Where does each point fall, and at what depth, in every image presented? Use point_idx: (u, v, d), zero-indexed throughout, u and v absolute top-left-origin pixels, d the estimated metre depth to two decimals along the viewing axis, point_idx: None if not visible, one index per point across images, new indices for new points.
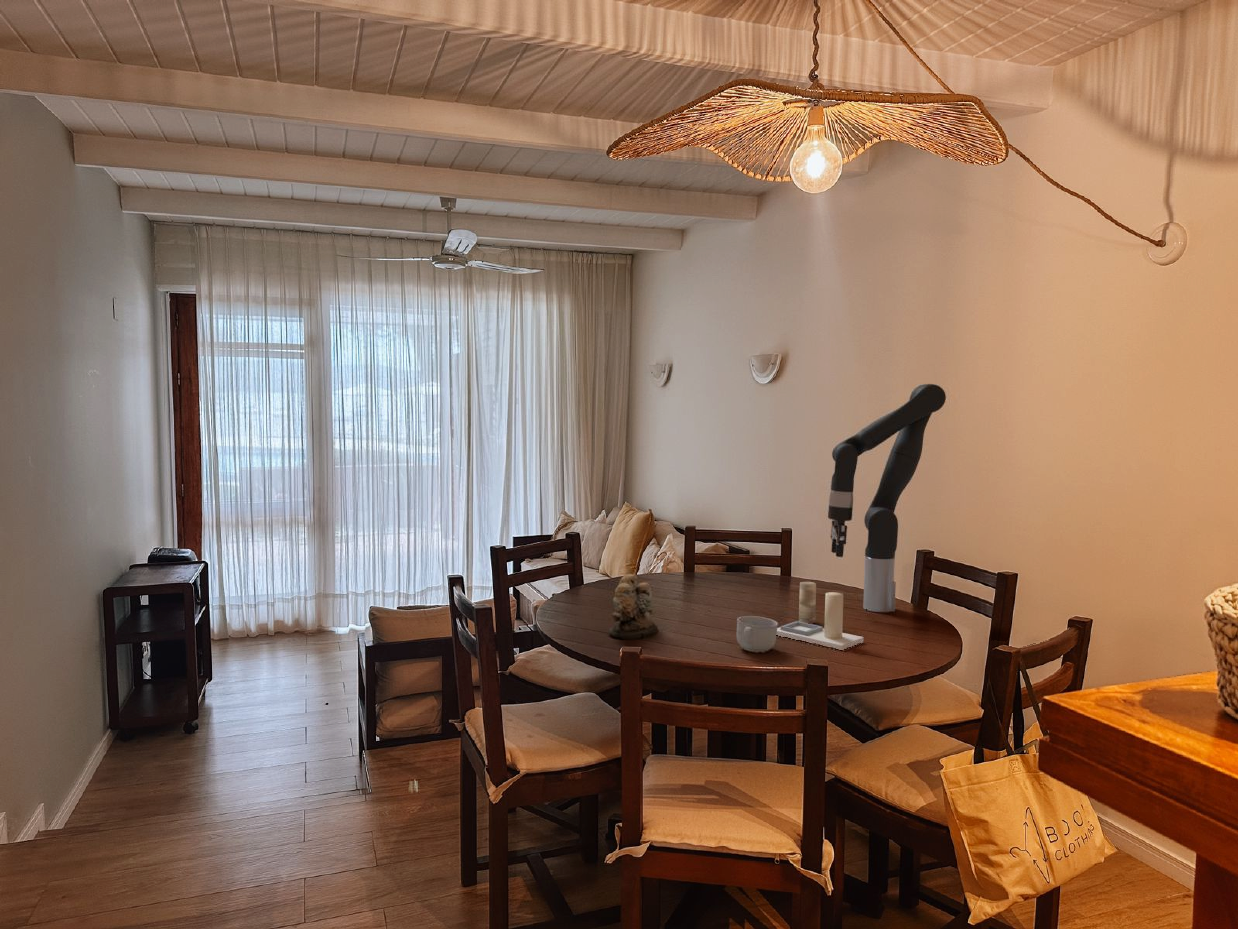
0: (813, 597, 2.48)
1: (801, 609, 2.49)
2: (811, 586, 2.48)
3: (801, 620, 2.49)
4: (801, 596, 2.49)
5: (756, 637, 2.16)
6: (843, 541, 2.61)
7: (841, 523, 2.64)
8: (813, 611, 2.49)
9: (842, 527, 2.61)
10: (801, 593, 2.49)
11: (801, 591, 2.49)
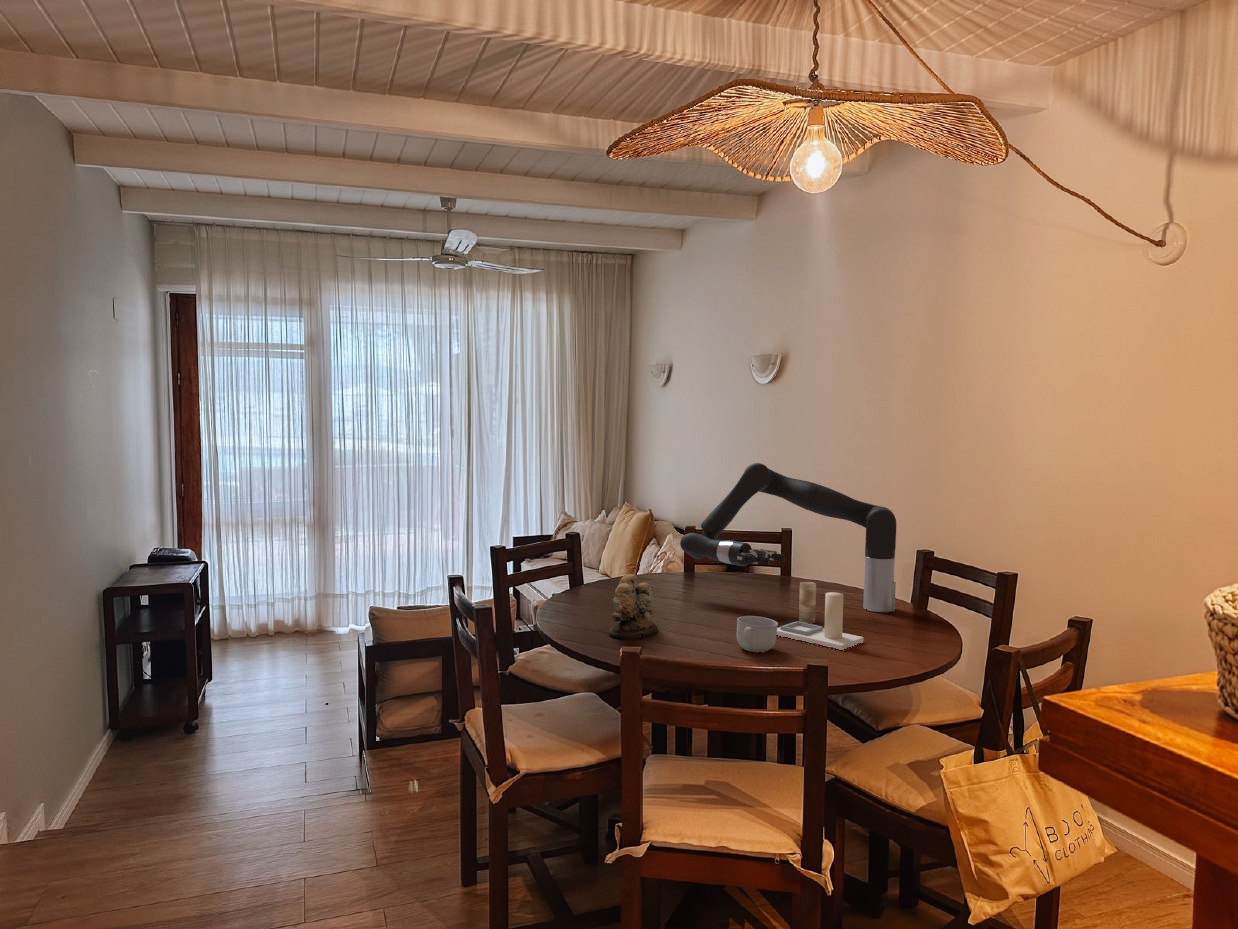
0: (813, 597, 2.48)
1: (801, 609, 2.49)
2: (811, 586, 2.48)
3: (801, 620, 2.49)
4: (801, 596, 2.49)
5: (756, 637, 2.16)
6: (749, 558, 2.56)
7: None
8: (813, 611, 2.49)
9: (738, 558, 2.59)
10: (801, 593, 2.49)
11: (801, 591, 2.49)
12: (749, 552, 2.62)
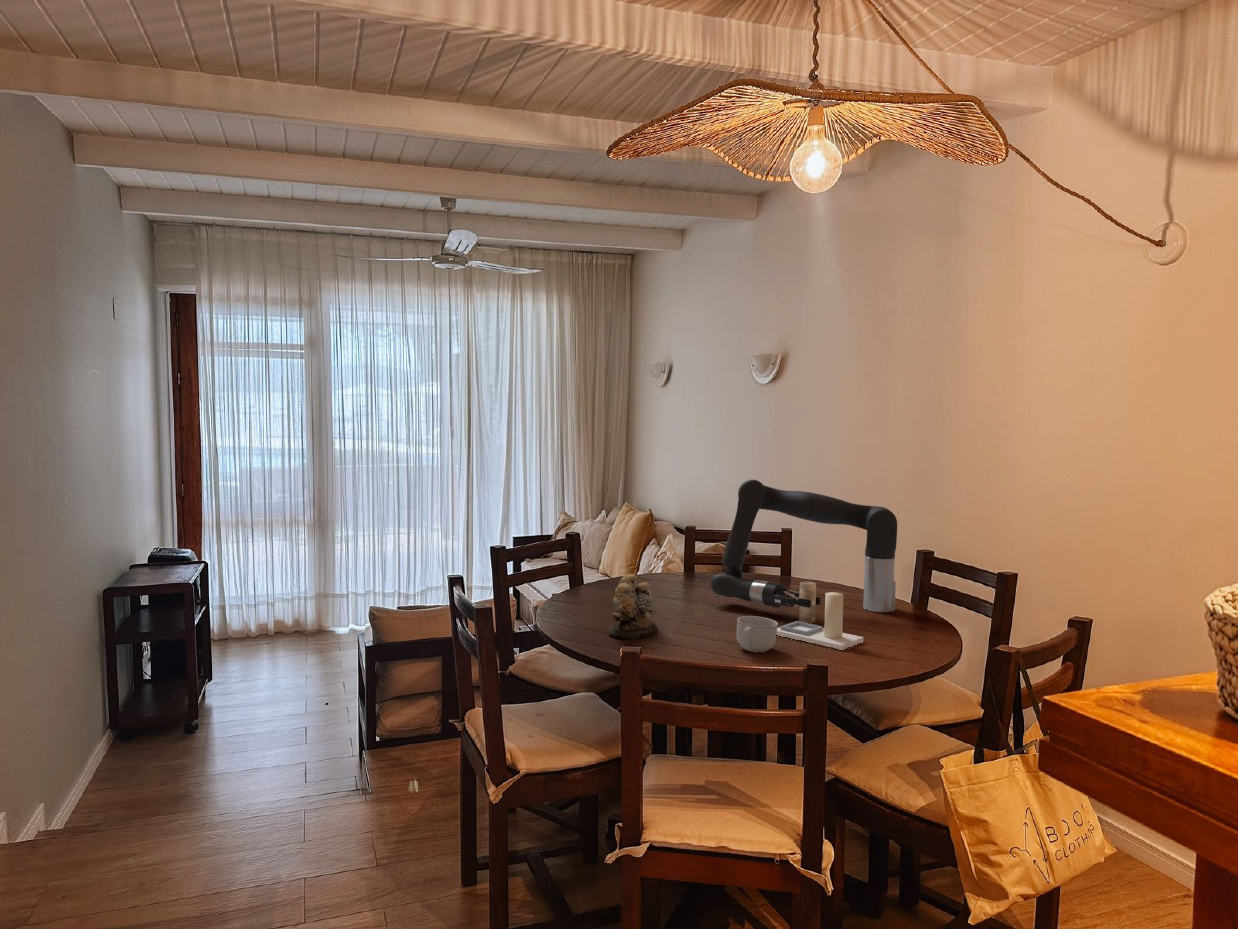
0: (813, 597, 2.48)
1: (801, 609, 2.49)
2: (811, 586, 2.48)
3: (801, 620, 2.49)
4: (801, 596, 2.49)
5: (756, 637, 2.16)
6: (790, 601, 2.48)
7: None
8: (813, 611, 2.49)
9: (776, 601, 2.50)
10: (801, 593, 2.49)
11: (801, 591, 2.49)
12: (785, 594, 2.53)
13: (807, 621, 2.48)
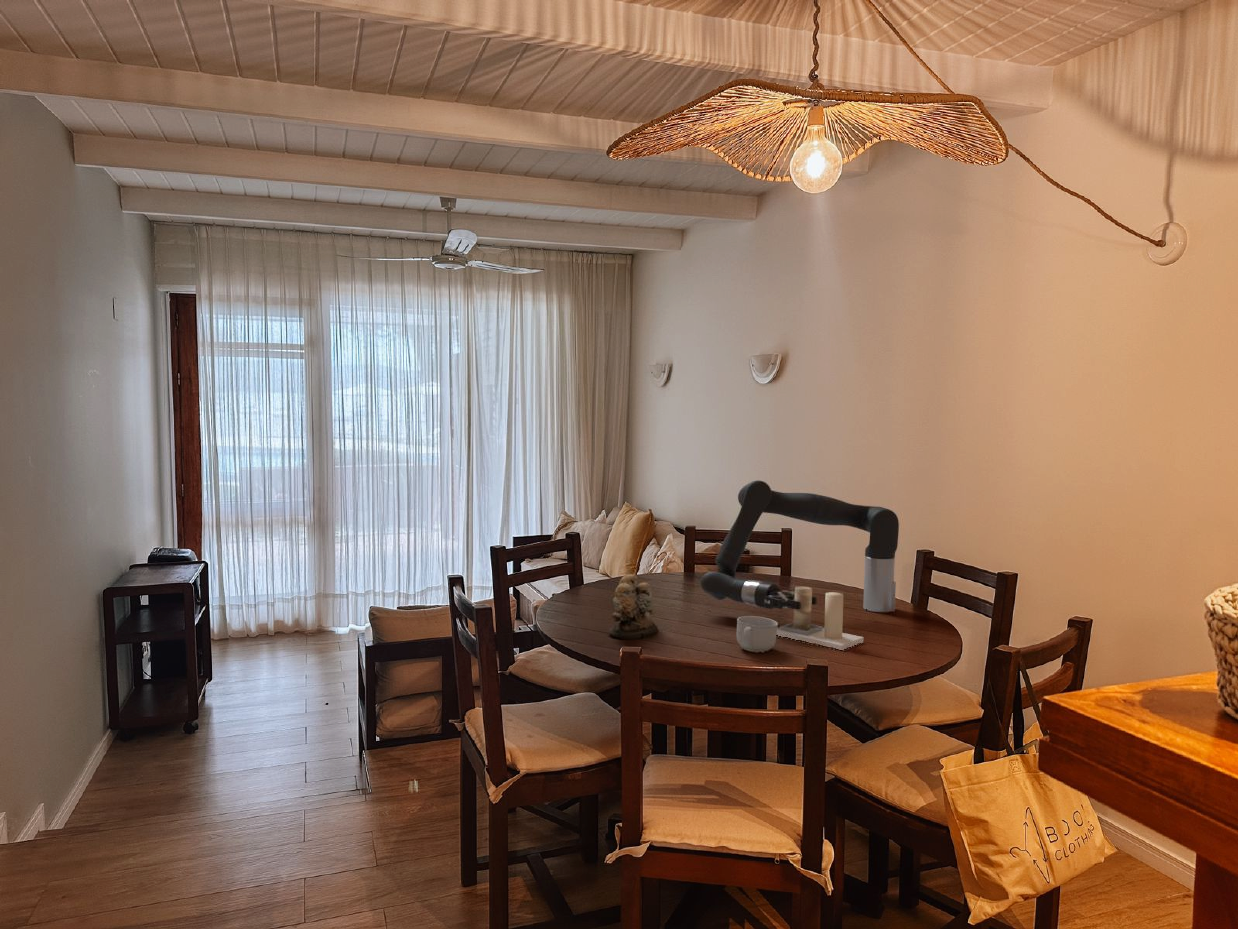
0: (809, 603, 2.34)
1: (796, 615, 2.35)
2: (807, 591, 2.33)
3: (795, 627, 2.35)
4: None
5: (756, 637, 2.16)
6: (778, 602, 2.33)
7: None
8: (808, 618, 2.34)
9: (765, 602, 2.36)
10: (796, 598, 2.34)
11: (796, 596, 2.34)
12: (777, 594, 2.39)
13: (802, 628, 2.34)
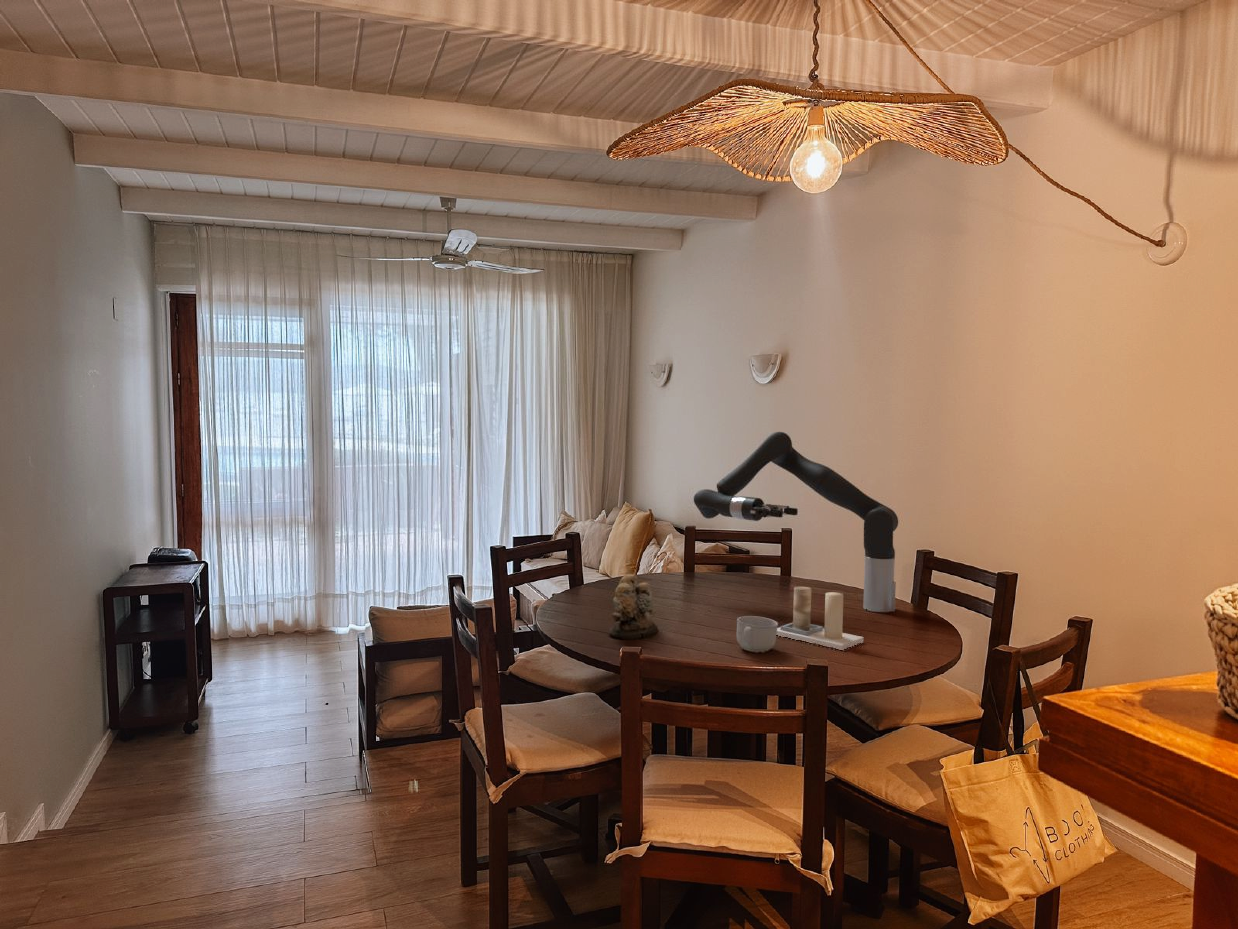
0: (808, 603, 2.34)
1: (795, 616, 2.35)
2: (806, 591, 2.33)
3: (795, 627, 2.35)
4: (795, 601, 2.35)
5: (756, 637, 2.16)
6: (762, 511, 2.59)
7: None
8: (808, 618, 2.34)
9: (751, 512, 2.62)
10: (796, 598, 2.34)
11: (795, 597, 2.35)
12: (762, 506, 2.64)
13: (802, 628, 2.34)
